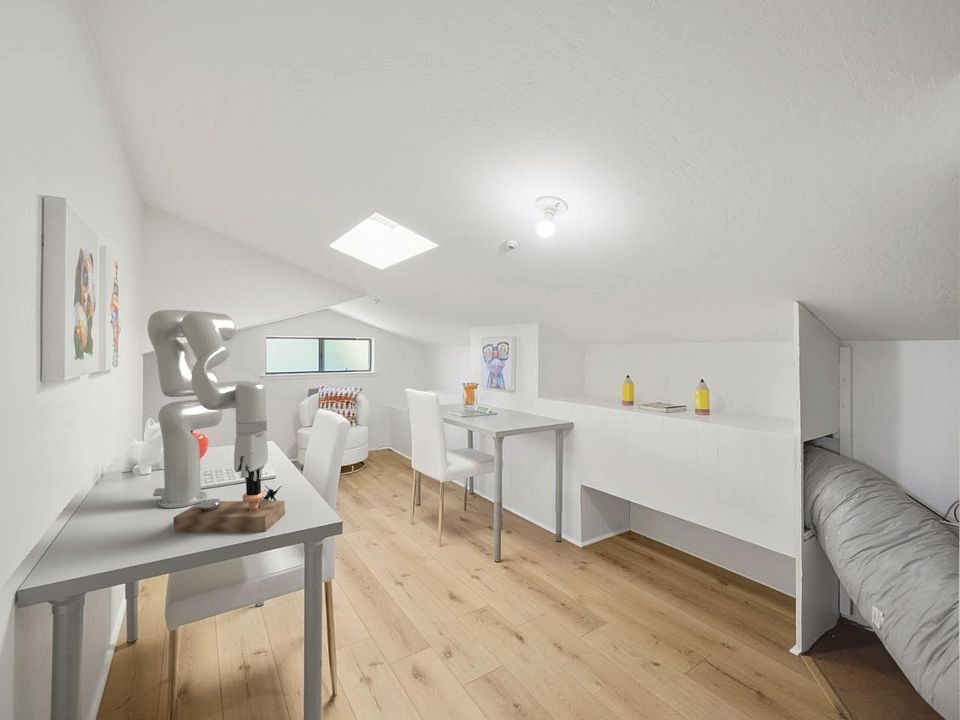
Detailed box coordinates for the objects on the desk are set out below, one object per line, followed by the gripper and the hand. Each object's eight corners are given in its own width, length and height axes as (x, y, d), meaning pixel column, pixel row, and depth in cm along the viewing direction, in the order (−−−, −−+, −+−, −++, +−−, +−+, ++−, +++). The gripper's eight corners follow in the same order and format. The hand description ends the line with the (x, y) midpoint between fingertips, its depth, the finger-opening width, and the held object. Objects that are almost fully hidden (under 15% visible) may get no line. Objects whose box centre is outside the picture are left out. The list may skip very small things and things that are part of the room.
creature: (271, 511, 137) (286, 497, 145) (268, 495, 136) (284, 482, 143) (248, 510, 139) (264, 496, 146) (245, 494, 137) (262, 481, 145)
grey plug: (195, 525, 123) (194, 505, 123) (206, 517, 128) (205, 499, 128) (214, 524, 123) (213, 505, 123) (224, 517, 128) (223, 498, 128)
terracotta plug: (239, 517, 123) (239, 497, 123) (249, 510, 128) (248, 491, 128) (258, 516, 123) (257, 497, 123) (266, 510, 128) (266, 491, 128)
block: (173, 532, 119) (173, 517, 119) (201, 515, 131) (201, 501, 131) (265, 531, 120) (265, 516, 119) (284, 514, 132) (284, 500, 131)
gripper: (251, 423, 132) (253, 486, 133) (222, 433, 117) (224, 503, 118) (277, 423, 132) (279, 485, 133) (251, 432, 117) (254, 503, 118)
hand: (253, 494), depth 125 cm, fingers closed
